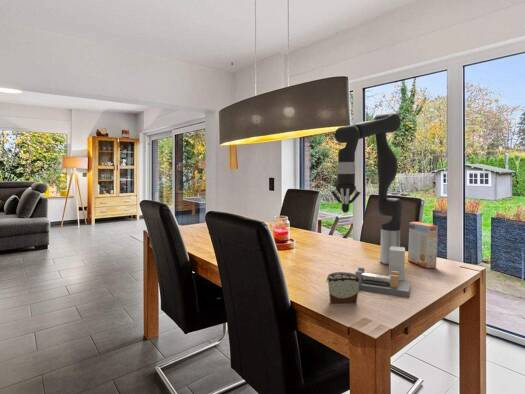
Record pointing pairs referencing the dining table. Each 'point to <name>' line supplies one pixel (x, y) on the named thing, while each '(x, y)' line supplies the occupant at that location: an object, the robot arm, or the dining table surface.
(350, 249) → the dining table surface
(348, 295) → the food container
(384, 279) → the strap
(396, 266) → the small box
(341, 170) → the robot arm
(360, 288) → the mounting plate
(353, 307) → the dining table surface
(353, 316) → the dining table surface
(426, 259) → the cracker box
